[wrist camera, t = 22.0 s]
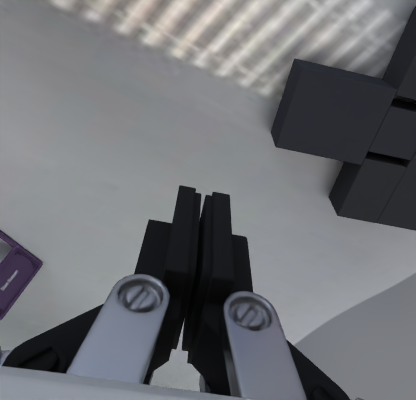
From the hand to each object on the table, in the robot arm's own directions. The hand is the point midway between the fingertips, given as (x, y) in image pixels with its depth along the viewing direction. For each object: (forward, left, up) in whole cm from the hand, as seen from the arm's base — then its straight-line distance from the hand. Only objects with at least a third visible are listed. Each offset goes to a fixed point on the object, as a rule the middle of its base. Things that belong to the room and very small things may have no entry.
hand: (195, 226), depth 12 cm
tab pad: (0, +11, -19) cm, 22 cm away
